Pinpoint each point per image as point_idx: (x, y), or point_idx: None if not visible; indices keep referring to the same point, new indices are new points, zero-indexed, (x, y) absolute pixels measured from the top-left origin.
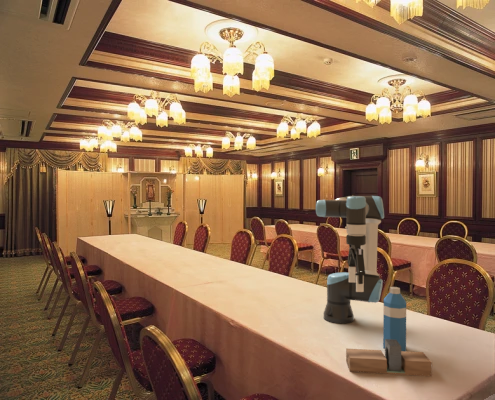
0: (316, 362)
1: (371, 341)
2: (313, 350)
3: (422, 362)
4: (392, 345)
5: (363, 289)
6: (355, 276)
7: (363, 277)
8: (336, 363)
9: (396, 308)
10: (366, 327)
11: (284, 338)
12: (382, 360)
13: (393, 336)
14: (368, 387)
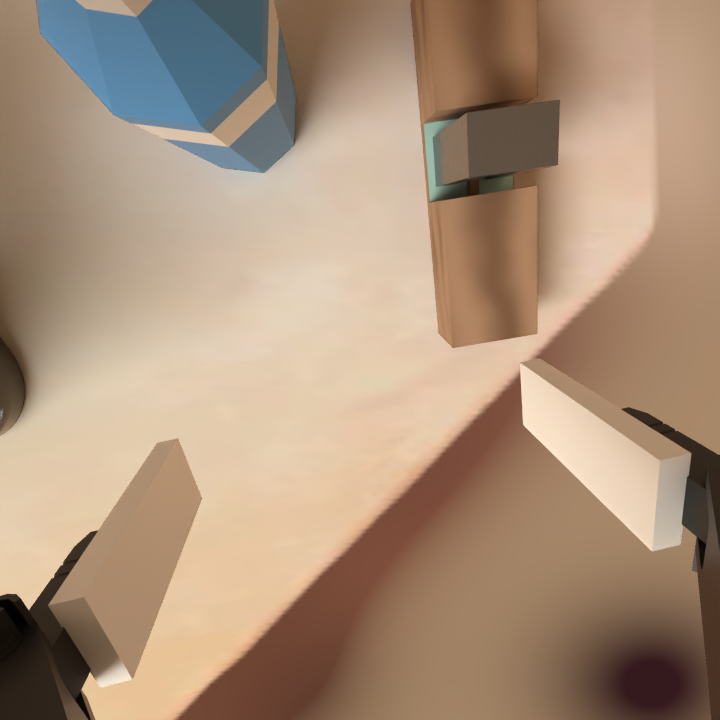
0: (464, 425)
1: (200, 223)
2: (372, 443)
3: (534, 7)
4: (549, 148)
5: (553, 368)
6: (152, 482)
7: (660, 436)
8: (459, 364)
9: (267, 18)
10: (4, 235)
11: (296, 542)
12: (535, 204)
13: (288, 109)
14: (610, 263)
